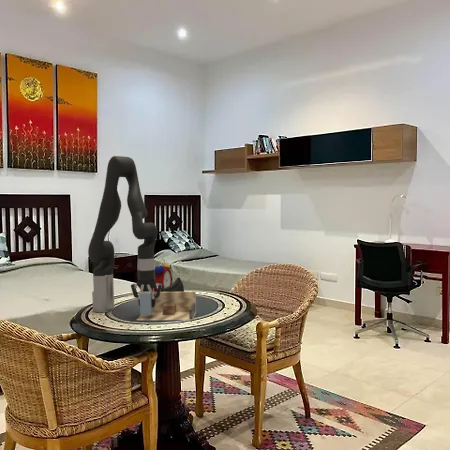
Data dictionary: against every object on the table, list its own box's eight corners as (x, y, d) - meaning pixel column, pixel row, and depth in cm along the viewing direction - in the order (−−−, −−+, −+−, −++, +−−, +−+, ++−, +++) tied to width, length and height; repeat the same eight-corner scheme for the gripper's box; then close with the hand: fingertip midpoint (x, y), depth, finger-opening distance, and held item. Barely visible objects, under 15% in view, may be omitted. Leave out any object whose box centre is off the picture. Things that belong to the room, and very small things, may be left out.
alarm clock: (163, 297, 240) (162, 260, 239) (148, 296, 242) (147, 260, 241) (173, 291, 254) (171, 256, 253) (158, 291, 256) (157, 256, 255)
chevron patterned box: (135, 322, 190) (134, 299, 190) (144, 313, 205) (143, 292, 204) (191, 322, 189) (191, 298, 188) (196, 313, 204) (195, 291, 203)
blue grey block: (140, 315, 192) (139, 292, 191) (143, 311, 199) (143, 289, 198) (150, 315, 192) (150, 292, 191) (154, 311, 199) (153, 289, 198)
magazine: (160, 293, 207) (180, 265, 234) (154, 292, 208) (175, 265, 235) (165, 324, 213) (184, 294, 240) (159, 324, 213) (179, 294, 241)
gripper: (127, 269, 191) (128, 309, 192) (160, 269, 190) (161, 309, 191) (132, 267, 198) (133, 305, 199) (164, 267, 198) (164, 305, 199)
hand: (147, 307), depth 195 cm, fingers closed on blue grey block, 4 cm apart
